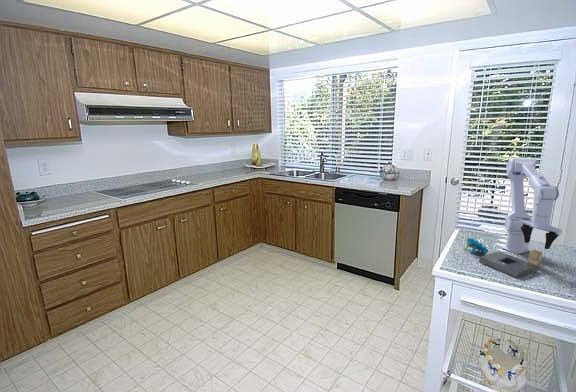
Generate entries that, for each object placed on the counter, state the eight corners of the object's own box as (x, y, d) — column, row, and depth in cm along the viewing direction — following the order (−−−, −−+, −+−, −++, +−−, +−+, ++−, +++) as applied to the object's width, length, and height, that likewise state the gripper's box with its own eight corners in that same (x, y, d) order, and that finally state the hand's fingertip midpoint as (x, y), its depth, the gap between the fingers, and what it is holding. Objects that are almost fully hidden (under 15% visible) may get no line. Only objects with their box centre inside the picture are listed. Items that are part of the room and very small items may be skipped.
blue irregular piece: (493, 253, 143) (480, 239, 141) (485, 263, 143) (471, 249, 141) (475, 247, 154) (463, 234, 152) (467, 256, 154) (455, 243, 152)
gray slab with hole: (498, 256, 143) (499, 251, 143) (536, 271, 129) (537, 265, 128) (479, 261, 138) (479, 256, 138) (516, 277, 124) (517, 272, 124)
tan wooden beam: (533, 263, 136) (535, 249, 134) (539, 266, 133) (542, 251, 132) (527, 265, 134) (529, 250, 132) (533, 268, 132) (536, 253, 130)
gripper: (517, 211, 133) (512, 241, 136) (556, 220, 120) (550, 253, 123) (527, 209, 136) (523, 238, 139) (567, 218, 123) (561, 250, 126)
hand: (536, 245), depth 131 cm, fingers open, 7 cm apart
